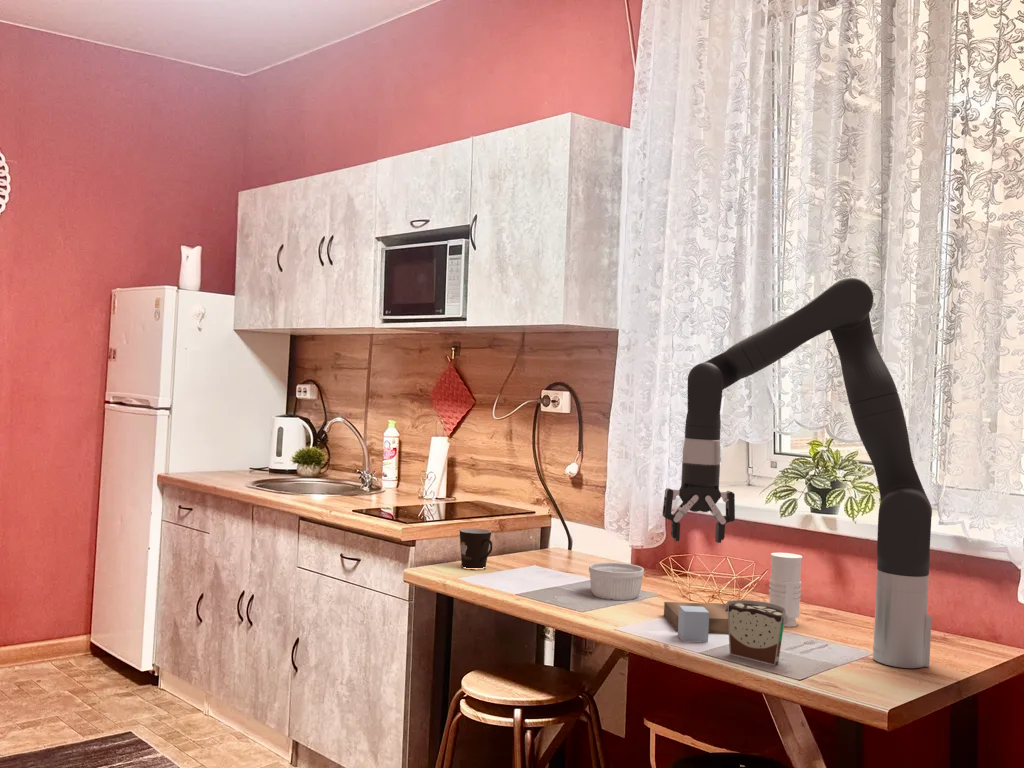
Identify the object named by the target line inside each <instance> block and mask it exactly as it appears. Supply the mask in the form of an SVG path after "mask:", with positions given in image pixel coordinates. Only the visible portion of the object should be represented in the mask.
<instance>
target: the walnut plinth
mask: <svg viewBox="0 0 1024 768" xmlns="http://www.w3.org/2000/svg"><path fill="white" fill-rule="evenodd" d="M663 604H664V605H663V616H664V617H665V619H666V620H667V621H668V622H669V623H670V625H672V627H673V628H674V629H675V630H676V632H678V619H679V606H699V607H704V608H705V609H706V610H707V611H708V612H709V631H708V632H709V633H711V634H712V633H713V634H729V627H728V611H726V612H725V608H726V604H727V603H726V604H725V603H724V604H723V603H705V602H704V603H703V602H702V603H701V602H674V601H664V603H663ZM709 633H708V634H709Z"/></svg>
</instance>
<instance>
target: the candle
mask: <svg viewBox="0 0 1024 768" xmlns="http://www.w3.org/2000/svg"><path fill="white" fill-rule="evenodd" d="M770 557H771V565H770V567H771V568H770V578H769V579H768V581H769V584H768V587H769V589H768V593H769V594H768V598H769V602H768V603H771V604H775V605H778V606H781V607H783V608H784V609H785V610H786V613H787V617H788V623H787V624H784V627H787V628H789V627H797V626H798V623H797V620H796V618H800V616H801V610H800V601H801V600H802V598H801V596H802V592H801V590H802V586H801V585H802V584H803V581H801V572H802V571H801V570H802V560H803V556H802V555H800V554H797V553H796V554H795V553H791V552H790V553H789V552H771V553H770Z"/></svg>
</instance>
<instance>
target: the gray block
mask: <svg viewBox="0 0 1024 768" xmlns="http://www.w3.org/2000/svg"><path fill="white" fill-rule="evenodd" d="M708 631H709V612H708V611H707V610H706V609H705V608H704V607H699V606H679V619H678V631H677V636H678V637H679V638H680V639H681V641H682V642H689V641H699V642H698V643H709V633H708ZM700 641H701V642H700Z"/></svg>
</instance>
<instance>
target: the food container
mask: <svg viewBox="0 0 1024 768" xmlns="http://www.w3.org/2000/svg"><path fill="white" fill-rule="evenodd" d="M726 611H728V627H729V633H728V642H729V643H728V644H729V645H728V646H729V655H731V656H733V657H738V658H741V659H742V658H743V659H745V660H751V661H755V662H758V663H762V664H766V665H770V666H774V667H776V666H778V664H779V661H780V660H779V659H780V654H781V647H782V640H783V633H784V627H785V626H784V624H787V623H788V617H787V613H786V610H785V609H784V608H783V607H781V606H778V605H775V604H771V603H769V602H767V601H760V600H751V599H749V600H748V599H737V600H736V599H733V600H727V603H726V608H725V612H726Z"/></svg>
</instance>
